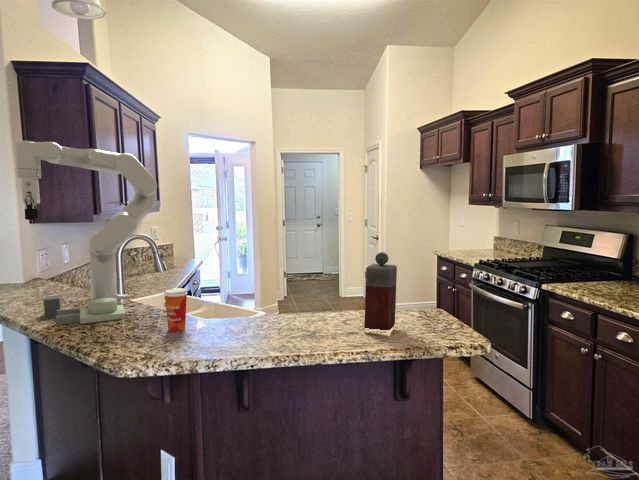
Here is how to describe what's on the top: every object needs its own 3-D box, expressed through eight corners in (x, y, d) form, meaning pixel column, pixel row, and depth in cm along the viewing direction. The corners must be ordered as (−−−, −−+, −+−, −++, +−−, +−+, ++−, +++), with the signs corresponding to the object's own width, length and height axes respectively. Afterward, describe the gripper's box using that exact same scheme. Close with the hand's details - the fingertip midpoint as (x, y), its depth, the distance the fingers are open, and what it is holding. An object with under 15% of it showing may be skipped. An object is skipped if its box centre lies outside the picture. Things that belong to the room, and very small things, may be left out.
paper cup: (159, 330, 142) (159, 291, 141) (177, 325, 149) (176, 287, 148) (176, 334, 139) (175, 293, 138) (193, 328, 146) (192, 289, 144)
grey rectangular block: (61, 312, 163) (60, 295, 162) (60, 316, 158) (59, 298, 157) (45, 314, 161) (44, 296, 160) (44, 318, 156) (43, 299, 155)
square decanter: (396, 327, 151) (398, 251, 148) (389, 336, 140) (392, 254, 138) (372, 324, 154) (374, 249, 151) (363, 333, 144) (366, 253, 141)
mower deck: (122, 309, 169) (122, 295, 168) (125, 318, 157) (125, 302, 156) (57, 316, 158) (56, 301, 157) (55, 326, 145) (54, 309, 145)
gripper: (39, 173, 153) (41, 220, 154) (42, 175, 167) (44, 217, 169) (14, 172, 149) (16, 220, 150) (19, 174, 164) (22, 218, 165)
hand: (31, 219), depth 160 cm, fingers open, 9 cm apart
